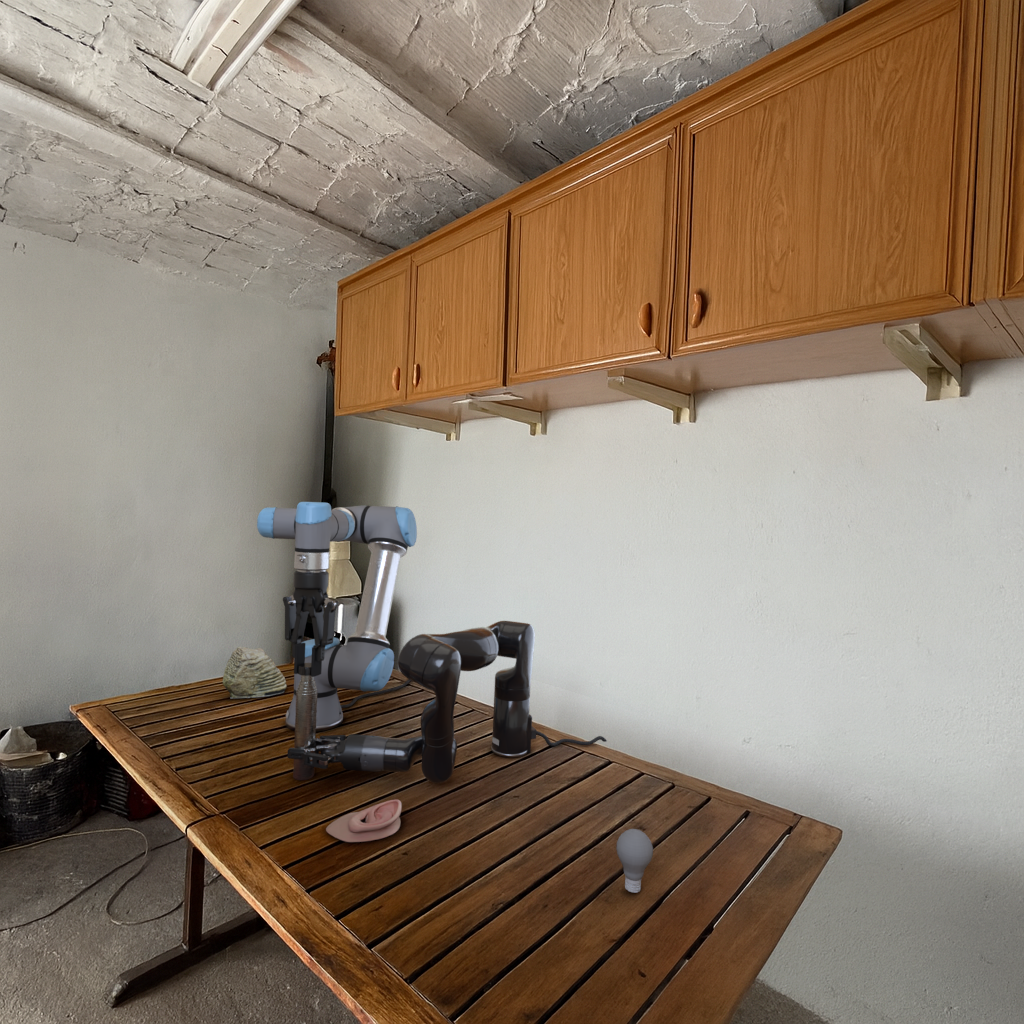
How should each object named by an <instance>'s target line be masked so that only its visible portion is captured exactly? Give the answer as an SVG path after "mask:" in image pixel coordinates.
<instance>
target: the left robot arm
mask: <svg viewBox="0 0 1024 1024" xmlns="http://www.w3.org/2000/svg"><path fill="white" fill-rule="evenodd" d="M296 505H297V506H296V508H294V507H293V508H291V507H276V506H274V507H264V508H262V509H261V510H260V512H259V513H258V514H257V515H258V516H257V519H256V529H257V531H258V533H259V535H260V536H261V537H263V538H267V539H273V540H276V539H279V540H295V541H294V562H293V568H294V569H295V570H294V572H293V583H292V585H293V588H294V591H293V593H292V594H291V595H288V596H283V598H282V602H283V605H284V640H286V641H289V642H291V644H292V649H291V657H292V659H293V695H292V696H293V697H292V699H291V702H290V704H289V708H288V710H286V713H285V726H286V728H287V729H289V730H291V731H295V716H296V692H297V688H298V686H299V683H300V680H301V675H299V674H298V667H299V664H302V663H311V677H314V680H315V683H316V687H317V715H316V733H317V732H325V731H329V730H332V729H335V728H337V727H339V726H340V725H342V723H343V722H344V714H343V709H347V708H350V707H352V706H353V705H354V704H355V703H356V702H357V701H358V700H360V699H364V698H367V697H373V696H377V695H383V694H386V693H390V692H394V691H397V690H400V689H402V688H404V687H406V686H407V685H408V684H409V683H411V682H412V681H411V680H409V679H408V678H407V680H406V681H405V682H404V683H402V684H400V685H398V686H394V687H390V688H386V689H384V688H385V686H386V685H387V684H388V682H389V681H390V678H391V677H392V676H391V675H392V673H393V670H394V666H395V665H394V664H395V661H394V660H395V654H394V653H395V652H394V651H393V650H392V649H391V648H390V645H391V644H390V641H389V639H387V637H386V636H387V631H388V625H389V621H390V615H391V610H392V606H393V601H394V594H395V588H396V584H397V580H398V579H397V578H398V574H399V573H398V572H399V568H400V563H401V558H403V557H404V556H406V554H408V548H411V547H414V546H415V544H416V543H417V537H418V536H417V535H418V530H417V529H418V528H417V520H416V517H415V513H414V512H413V511H412V510H411V509H410V508H408V507H401V506H397V505H396V506H385V505H384V506H383V505H364V504H363V505H353V506H352V505H351V506H345V507H339V506H338V507H335V508H332V506H331V504H330V502H329V503H328V502H324V501H323V502H321V501H300V502H299V503H298V504H296ZM341 541H346V542H352V543H357V544H365V545H367V549H368V550H369V551H370V553H371V554H370V557H369V562H368V567H367V572H366V576H365V577H366V578H365V581H364V587H363V592H362V596H361V600H360V601H361V602H360V605H359V611H358V616H357V620H356V625H355V630H354V632H353V633H352V634H350V635H349V636H348V637H347V641H346V644H340V643H341V641H340V639H339V638H338V637H334V636H335V624H336V623H335V622H336V611H337V609H338V606H339V601H338V600H333V599H331V598H329V595H328V591H327V590H328V588H329V580H330V579H329V576H330V573H329V572H328V570H329V569H330V547H331V543H333V542H338V543H340V542H341ZM308 616H309V617H310V618H311V623H312V632H313V639H307V640H305V639H304V635H305V631H306V626H307V622H308ZM338 689H342V690H343V689H344V690H351V691H353V690H354V691H362V692H365V693H363V694H360V695H358V696H356V697H354V698H353V699H352V701H350V702H349V703H346V704H341V702H340V699H339V695H338ZM382 689H383V690H382ZM366 692H368V693H366Z"/></svg>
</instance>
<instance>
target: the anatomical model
mask: <svg viewBox="0 0 1024 1024" xmlns="http://www.w3.org/2000/svg"><path fill="white" fill-rule="evenodd" d="M402 808H403V804H402V802H401V800H399V799H391V800H387V801H383V802H380V803H377V804H374V805H372V806H370V807H367V808H365V809H362V810H360V811H353V812H350V813H347V814H344V815H342V816H340V817H338V818H337V819H335V820H333V821H332V822H330V823H329V825H327V826H326V828H325V832H326V833H327V834H329V835H330V836H332V837H333V838H335V839H338V840H340V841H342V842H345V843H360V842H361V843H363V842H371V841H375V840H381V839H384V838H387V837H389V836H392V835H394V834H395V833H397V832H398V831H399V829H400V827H401V824H402V823H401V817H400V816H401V813H402Z"/></svg>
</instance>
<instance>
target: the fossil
mask: <svg viewBox="0 0 1024 1024" xmlns="http://www.w3.org/2000/svg"><path fill="white" fill-rule="evenodd" d="M222 676H223V677H222V685H223V687H224V688H225V690H226V691H228V693H229V698H230V699H250V698H264V697H271V696H275V695H281V694H284V693H285V691H286V689H287V687H288V686H287V680H286V678H285V676H284V674H283V673H282V672H281V669H279V668H278V667H277V665H276V663H275V662H274V660H273V659H272V658H271V657H270V656H269V655H268V654H267V653H266V652H265V650H264V649H263V648H260V647H258V648H251V647H247V646H246V647H245V646H238V647H237V648H236V649H235V650H233V651H232V653H231V656H230V657H229V659H228V660H227V663H226V666H225V668H224V671H223V675H222Z"/></svg>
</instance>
